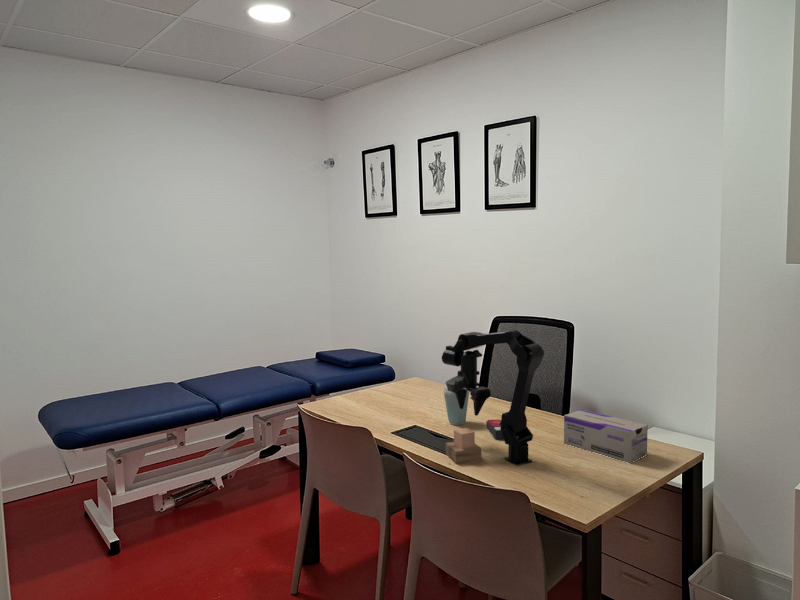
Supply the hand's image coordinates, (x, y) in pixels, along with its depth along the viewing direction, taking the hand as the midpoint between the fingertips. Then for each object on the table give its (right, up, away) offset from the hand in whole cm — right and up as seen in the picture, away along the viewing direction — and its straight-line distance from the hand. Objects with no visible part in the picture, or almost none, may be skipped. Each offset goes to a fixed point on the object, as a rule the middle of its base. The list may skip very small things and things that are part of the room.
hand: (468, 412), depth 206 cm
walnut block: (-3, -14, -10) cm, 17 cm away
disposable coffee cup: (-2, -10, +28) cm, 30 cm away
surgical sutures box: (+46, -12, -5) cm, 48 cm away
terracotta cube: (-3, -9, -11) cm, 14 cm away
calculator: (+15, -11, +15) cm, 24 cm away
